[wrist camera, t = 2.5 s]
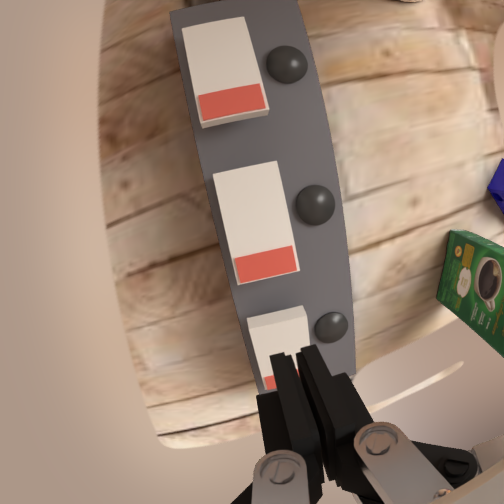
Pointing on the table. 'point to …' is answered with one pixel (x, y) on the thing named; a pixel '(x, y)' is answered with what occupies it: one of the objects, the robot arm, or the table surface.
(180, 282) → the table surface
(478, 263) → the coffee box
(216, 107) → the rocker
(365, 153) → the table surface
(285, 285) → the rocker switch panel
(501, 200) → the blue piece
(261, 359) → the rocker
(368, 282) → the table surface
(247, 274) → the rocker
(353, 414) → the robot arm
